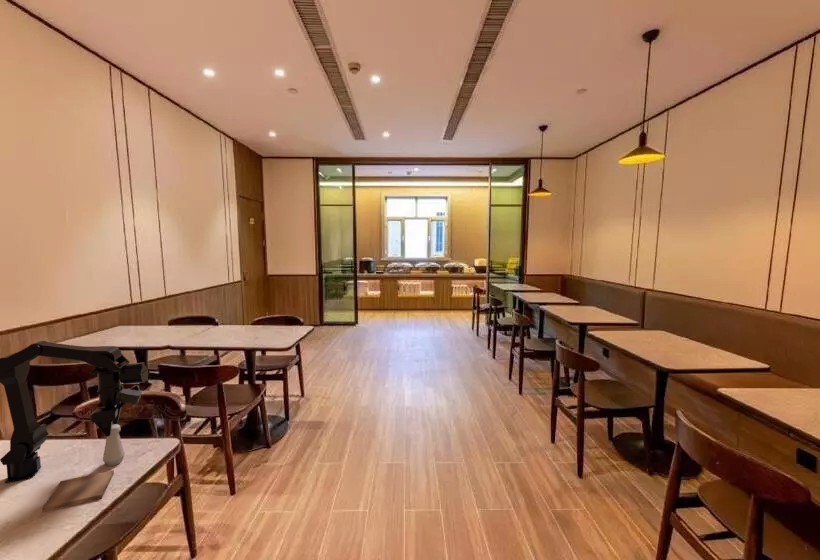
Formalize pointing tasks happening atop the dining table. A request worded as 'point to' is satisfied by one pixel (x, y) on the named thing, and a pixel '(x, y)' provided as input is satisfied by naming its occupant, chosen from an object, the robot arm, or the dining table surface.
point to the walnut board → (78, 490)
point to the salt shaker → (113, 447)
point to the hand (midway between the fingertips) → (112, 429)
